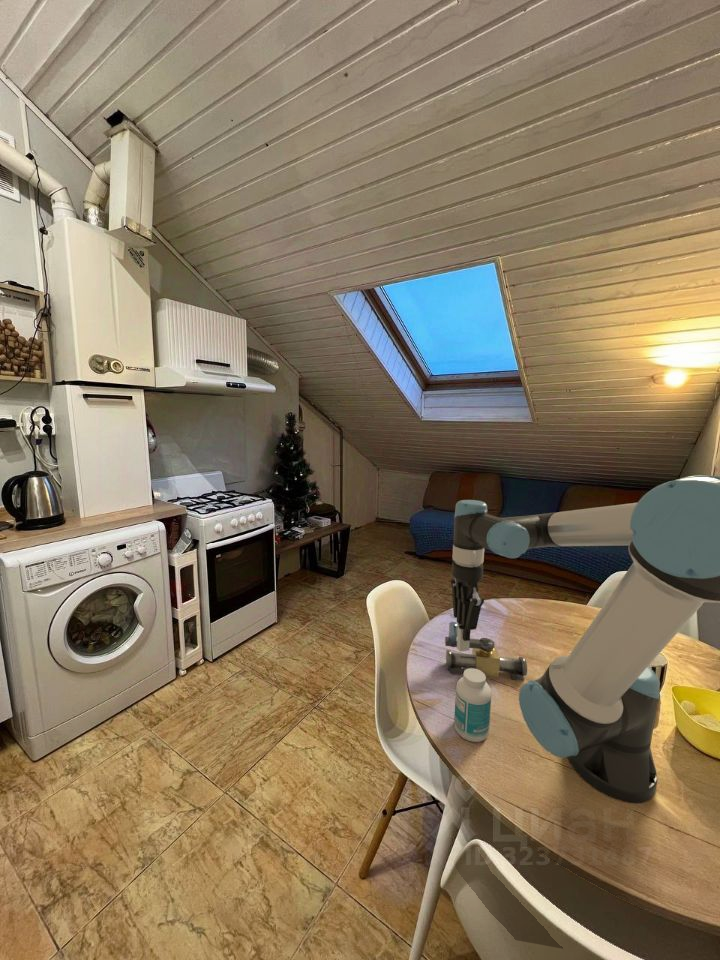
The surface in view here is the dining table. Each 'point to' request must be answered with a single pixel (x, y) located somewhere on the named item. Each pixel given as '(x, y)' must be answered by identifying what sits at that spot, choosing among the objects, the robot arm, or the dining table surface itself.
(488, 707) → the pill bottle
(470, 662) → the pipe valve
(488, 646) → the lever
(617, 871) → the dining table surface
